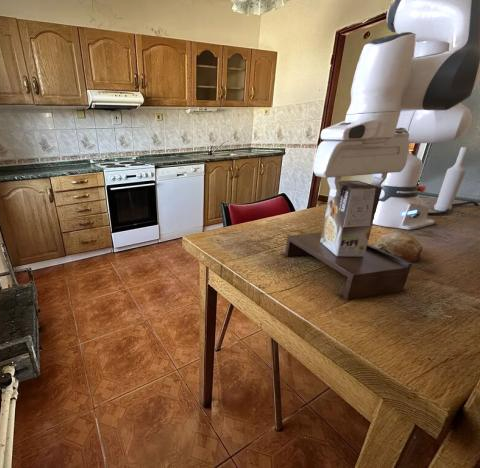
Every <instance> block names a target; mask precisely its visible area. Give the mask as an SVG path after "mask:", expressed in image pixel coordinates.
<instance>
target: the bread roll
mask: <svg viewBox="0 0 480 468" xmlns="http://www.w3.org/2000/svg"><path fill="white" fill-rule="evenodd" d="M374 247H375V248H378V249H380V250H382V251H385V252H387V253H389V254H391V255H394V256H396V257H398V258H401V259H403V260H405V261H407V262H410V263H412V262H416V261H418V259H419V258H420V256H421V254H422V252H423V246H422V244H421V243H420V241H418V239H416V238H415V237H414V236H412V235H410V234H408V233H404V232H402V233H401V232H392V233H385V234H383V235H380V236H379V237H378V238H377V239H376V241H375V245H374Z"/></svg>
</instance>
